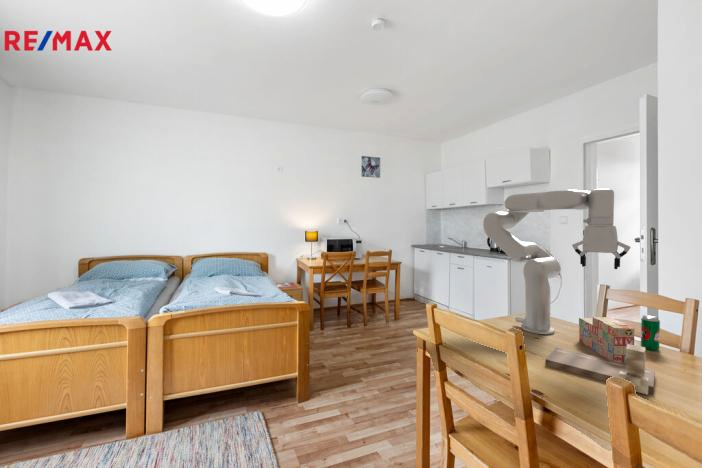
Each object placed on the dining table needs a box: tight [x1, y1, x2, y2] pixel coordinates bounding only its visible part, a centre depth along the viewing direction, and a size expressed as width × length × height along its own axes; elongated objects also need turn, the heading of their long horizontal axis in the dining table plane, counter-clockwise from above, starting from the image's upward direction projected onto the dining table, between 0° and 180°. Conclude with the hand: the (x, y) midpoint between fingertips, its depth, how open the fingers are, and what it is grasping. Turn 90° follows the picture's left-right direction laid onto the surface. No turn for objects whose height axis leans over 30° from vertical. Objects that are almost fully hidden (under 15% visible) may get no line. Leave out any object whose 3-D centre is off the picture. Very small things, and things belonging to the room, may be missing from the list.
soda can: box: [640, 314, 661, 352], centre depth 118 cm, size 5×5×12 cm
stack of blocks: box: [578, 316, 636, 363], centre depth 117 cm, size 21×6×12 cm, turn 171°
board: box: [545, 347, 656, 395], centre depth 102 cm, size 26×14×2 cm, turn 45°
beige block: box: [619, 344, 649, 396], centre depth 93 cm, size 6×15×10 cm, turn 135°
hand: (599, 267), depth 120 cm, fingers open, 9 cm apart
